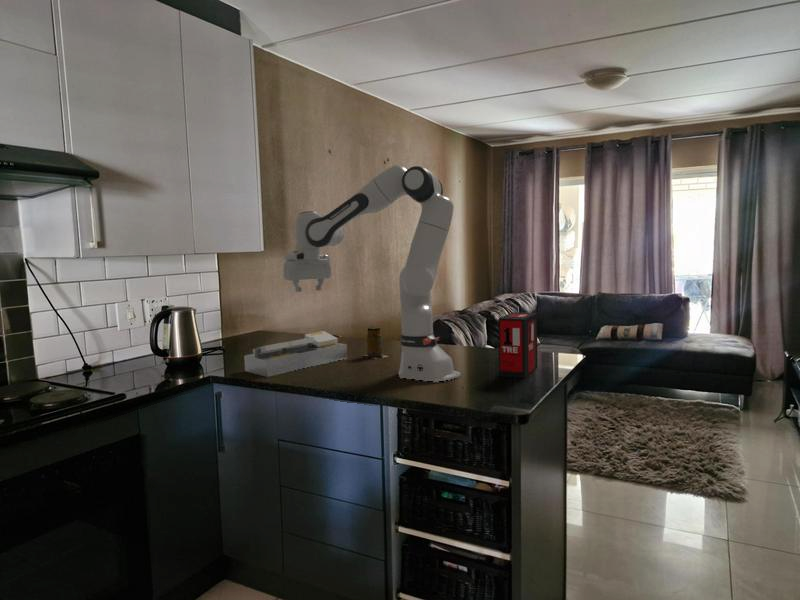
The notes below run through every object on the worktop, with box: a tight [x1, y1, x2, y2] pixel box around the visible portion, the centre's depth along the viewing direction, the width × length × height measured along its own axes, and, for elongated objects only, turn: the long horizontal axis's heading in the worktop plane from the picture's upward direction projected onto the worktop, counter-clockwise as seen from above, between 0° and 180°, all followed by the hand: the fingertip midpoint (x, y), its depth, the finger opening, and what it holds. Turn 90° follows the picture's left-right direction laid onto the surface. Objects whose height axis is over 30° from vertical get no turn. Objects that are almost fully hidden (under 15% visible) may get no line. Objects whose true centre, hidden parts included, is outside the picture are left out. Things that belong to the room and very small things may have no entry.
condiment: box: [365, 326, 389, 360], centre depth 228 cm, size 7×8×12 cm
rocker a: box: [303, 330, 339, 347], centre depth 225 cm, size 9×10×2 cm
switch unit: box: [243, 334, 348, 378], centre depth 217 cm, size 15×38×9 cm, turn 137°
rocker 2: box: [287, 337, 314, 348], centre depth 216 cm, size 9×10×2 cm
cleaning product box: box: [498, 311, 538, 379], centre depth 194 cm, size 16×9×20 cm, turn 152°
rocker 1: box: [252, 341, 289, 354], centre depth 208 cm, size 9×10×2 cm
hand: (308, 291), depth 210 cm, fingers open, 8 cm apart
